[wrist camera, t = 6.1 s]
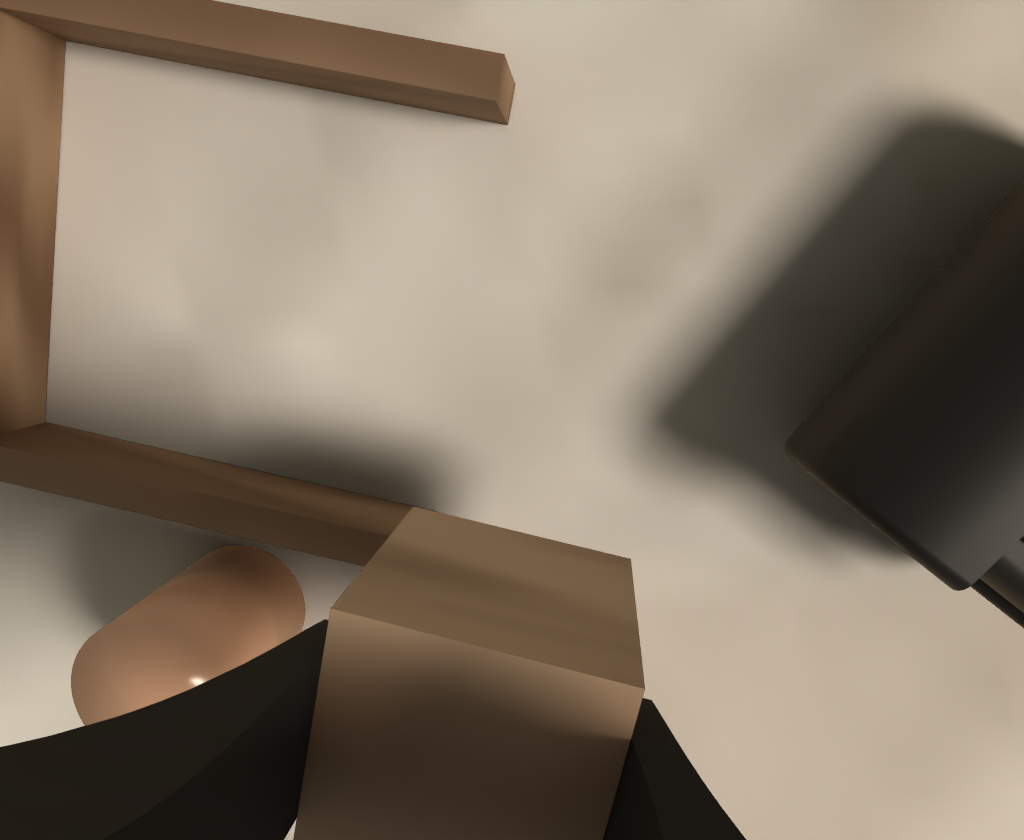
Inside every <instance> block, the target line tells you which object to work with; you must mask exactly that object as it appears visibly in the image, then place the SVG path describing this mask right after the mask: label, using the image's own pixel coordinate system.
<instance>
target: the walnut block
mask: <svg viewBox="0 0 1024 840" xmlns="http://www.w3.org/2000/svg"><path fill="white" fill-rule="evenodd" d="M644 691H645V684H644V675H643V666H642V657H641V648H640V639H639V630H638V621H637V612H636V603H635V594H634V585H633V575H632V566H631V559H629V558H624V557H620V556H616V555H612V554H608V553H604V552H600V551H596V550H591V549H587V548H583V547H579V546H575V545H571V544H567V543H562V542H558V541H554V540H550V539H546V538H542V537H538V536H534V535H529V534H525V533H521V532H517V531H513V530H509V529H505V528H500V527H496V526H492V525H488V524H484V523H480V522H476V521H472V520H467V519H463V518H459V517H455V516H451V515H447V514H443V513H439V512H434V511H430V510H426V509H422V508H418V507H413V508H412V509H411V510H410V512H409V513H408V514H407V515H406V516H405V518H404V519H403V520H402V521H401V523H400V524H399V525H398V526H397V527H396V529H395V530H394V531H393V532H392V534H391V535H390V536H389V537H388V539H387V540H386V541H385V542H384V543H383V545H382V546H381V547H380V548H379V550H378V551H377V552H376V553H375V555H374V556H373V557H372V558H371V559H370V561H369V562H368V563H367V564H366V566H365V567H364V568H363V569H362V570H361V572H360V573H359V574H358V575H357V577H356V578H355V579H354V580H353V582H352V583H351V584H350V585H349V586H348V588H347V589H346V590H345V591H344V593H343V594H342V595H341V596H340V597H339V599H338V600H337V601H336V602H335V604H334V605H333V606H332V607H331V609H330V615H329V621H328V627H327V634H326V640H325V646H324V652H323V659H322V665H321V671H320V677H319V683H318V690H317V696H316V702H315V708H314V715H313V721H312V727H311V733H310V739H309V746H308V752H307V758H306V764H305V771H304V777H303V783H302V789H301V795H300V802H299V808H298V814H297V820H296V827H295V833H294V839H293V840H603V837H604V834H605V830H606V826H607V823H608V819H609V816H610V812H611V809H612V805H613V801H614V798H615V794H616V791H617V787H618V784H619V780H620V776H621V773H622V769H623V766H624V762H625V759H626V755H627V752H628V748H629V744H630V741H631V737H632V734H633V730H634V727H635V723H636V719H637V716H638V712H639V709H640V705H641V702H642V698H643V694H644Z"/></svg>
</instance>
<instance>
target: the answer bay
mask: <svg viewBox="0 0 1024 840" xmlns="http://www.w3.org/2000/svg"><path fill="white" fill-rule="evenodd" d="M66 41H71V42H76V43H82V44H87V45H92V46H97V47H103V48H108V49H113V50H118V51H124V52H129V53H134V54H139V55H145V56H150V57H155V58H160V59H166V60H171V61H176V62H181V63H186V64H192V65H197V66H202V67H207V68H213V69H218V70H223V71H228V72H234V73H239V74H244V75H249V76H255V77H260V78H265V79H270V80H276V81H281V82H286V83H291V84H297V85H302V86H307V87H312V88H318V89H323V90H328V91H333V92H339V93H344V94H349V95H354V96H359V97H365V98H370V99H375V100H380V101H386V102H391V103H396V104H401V105H407V106H412V107H417V108H422V109H428V110H433V111H438V112H443V113H449V114H454V115H459V116H464V117H470V118H475V119H480V120H485V121H491V122H496V123H501V124H506V125H508V122H509V116H510V111H511V106H512V100H513V95H514V89H515V82H514V80H513V77H512V74H511V71H510V69H509V66H508V63H507V60H506V58H505V55H504V54H500V53H495V52H490V51H484V50H479V49H473V48H468V47H462V46H457V45H452V44H446V43H441V42H435V41H430V40H424V39H419V38H414V37H408V36H403V35H397V34H392V33H386V32H381V31H376V30H370V29H365V28H359V27H354V26H349V25H343V24H338V23H332V22H327V21H321V20H316V19H311V18H305V17H300V16H294V15H289V14H283V13H278V12H273V11H267V10H262V9H256V8H251V7H245V6H240V5H235V4H229V3H224V2H218V1H213V0H0V481H3V482H7V483H12V484H16V485H20V486H24V487H29V488H33V489H37V490H41V491H46V492H50V493H54V494H58V495H63V496H67V497H71V498H75V499H80V500H84V501H88V502H92V503H97V504H101V505H105V506H109V507H114V508H118V509H122V510H127V511H131V512H135V513H139V514H144V515H148V516H152V517H156V518H161V519H165V520H169V521H173V522H178V523H182V524H186V525H190V526H195V527H199V528H203V529H207V530H212V531H216V532H220V533H224V534H229V535H233V536H237V537H241V538H246V539H250V540H254V541H258V542H263V543H267V544H271V545H276V546H280V547H284V548H288V549H293V550H297V551H301V552H305V553H310V554H314V555H318V556H322V557H327V558H331V559H335V560H339V561H344V562H348V563H352V564H356V565H361V566H366V564H367V563H368V562H369V561H370V559H371V558H372V557H373V556H374V555H375V553H376V552H377V551H378V550H379V548H380V547H381V546H382V545H383V543H384V542H385V541H386V540H387V539H388V537H389V536H390V535H391V534H392V532H393V531H394V530H395V529H396V527H397V526H398V525H399V524H400V523H401V521H402V520H403V519H404V518H405V516H406V515H407V514H408V513H409V512H410V510H411V509H412V508H413V507H414V506H409V505H405V504H400V503H396V502H392V501H387V500H383V499H379V498H374V497H370V496H365V495H361V494H357V493H352V492H348V491H343V490H339V489H335V488H330V487H326V486H322V485H317V484H313V483H308V482H304V481H300V480H295V479H291V478H286V477H282V476H278V475H273V474H269V473H265V472H260V471H256V470H251V469H247V468H243V467H238V466H234V465H230V464H225V463H221V462H216V461H212V460H208V459H203V458H199V457H194V456H190V455H186V454H181V453H177V452H173V451H168V450H164V449H159V448H155V447H151V446H146V445H142V444H137V443H133V442H129V441H124V440H120V439H116V438H111V437H107V436H102V435H98V434H94V433H89V432H85V431H81V430H76V429H72V428H67V427H63V426H59V425H54V424H50V423H45V412H46V394H47V375H48V357H49V339H50V320H51V302H52V284H53V266H54V247H55V229H56V211H57V192H58V174H59V156H60V138H61V119H62V101H63V83H64V64H65V46H66ZM426 510H427V509H426ZM430 511H431V510H430ZM434 512H435V511H434Z"/></svg>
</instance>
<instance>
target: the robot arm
mask: <svg viewBox="0 0 1024 840" xmlns="http://www.w3.org/2000/svg"><path fill="white" fill-rule="evenodd" d="M328 621H329V620H326V619H325V620H323V621H321V622H319V623H317V624H315V625H313V626H312V627H310V628H308V629H306V630H304V631H303V632H301V633H299V634H297V635H296V636H294V637H292V638H290V639H289V640H287V641H285V642H283V643H281V644H280V645H278V646H276V647H274V648H272V649H270V650H268V651H267V652H265V653H263V654H261V655H259V656H257V657H255V658H253V659H252V660H250V661H248V662H246V663H244V664H242V665H240V666H238V667H236V668H234V669H232V670H230V671H227V672H225V673H223V674H221V675H219V676H217V677H215V678H213V679H210V680H208V681H206V682H204V683H202V684H200V685H198V686H196V687H193V688H191V689H189V690H187V691H184V692H182V693H180V694H177V695H175V696H172V697H170V698H167V699H165V700H162V701H160V702H157V703H154V704H151V705H149V706H146V707H143V708H140V709H137V710H135V711H132V712H129V713H126V714H123V715H120V716H117V717H114V718H110V719H107V720H104V721H100V722H97V723H93V724H90V725H86V726H83V727H79V728H76V729H72V730H69V731H65V732H62V733H59V734H55V735H51V736H47V737H43V738H39V739H35V740H30V741H26V742H22V743H17V744H13V745H8V746H3V747H0V840H284V838H285V837H286V835H287V833H288V832H289V830H290V828H291V827H292V825H293V823H294V822H295V820H296V818H297V814H298V808H299V802H300V795H301V789H302V783H303V777H304V771H305V764H306V758H307V752H308V746H309V739H310V733H311V727H312V721H313V715H314V708H315V702H316V696H317V690H318V683H319V677H320V671H321V665H322V659H323V652H324V646H325V640H326V634H327V627H328ZM603 840H746V839H745V837H744V836H743V835H742V834H741V832H740V831H739V830H738V828H737V827H736V826H735V824H734V823H733V822H732V820H731V819H730V818H729V817H728V815H727V814H726V813H725V811H724V810H723V809H722V807H721V806H720V805H719V803H718V802H717V800H716V799H715V798H714V796H713V795H712V793H711V792H710V791H709V789H708V788H707V786H706V785H705V783H704V782H703V781H702V779H701V778H700V776H699V775H698V773H697V772H696V770H695V769H694V767H693V766H692V764H691V763H690V761H689V759H688V758H687V756H686V755H685V753H684V752H683V750H682V749H681V747H680V745H679V744H678V742H677V741H676V739H675V737H674V736H673V734H672V732H671V731H670V729H669V727H668V726H667V724H666V723H665V721H664V719H663V718H662V716H661V714H660V713H659V711H658V710H657V708H656V706H655V705H654V703H653V702H652V700H649V699H645V698H642V702H641V705H640V709H639V712H638V716H637V719H636V723H635V727H634V730H633V734H632V737H631V741H630V744H629V748H628V752H627V755H626V759H625V762H624V766H623V769H622V773H621V776H620V780H619V784H618V787H617V791H616V794H615V798H614V801H613V805H612V809H611V812H610V816H609V819H608V823H607V826H606V830H605V834H604V837H603Z"/></svg>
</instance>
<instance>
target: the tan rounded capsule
mask: <svg viewBox="0 0 1024 840" xmlns="http://www.w3.org/2000/svg"><path fill="white" fill-rule="evenodd" d="M304 620H305V603H304V598H303V594H302V591H301V588H300V586H299V584H298V582H297V580H296V579H295V577H294V576H293V574H292V573H291V572H290V570H289V569H288V568H287V567H286V566H285V565H284V564H283V563H282V562H281V561H279V560H278V559H277V558H275V557H274V556H272V555H271V554H269V553H267V552H265V551H263V550H260V549H257V548H254V547H250V546H244V545H231V546H225V547H220V548H218V549H215V550H213V551H211V552H209V553H207V554H206V555H204V556H203V557H202V558H200V559H199V560H197V561H196V562H195V563H193V564H192V565H190V566H189V567H188V568H186V569H185V570H183V571H182V572H181V573H179V574H178V575H176V576H175V577H173V578H172V579H171V580H169V581H168V582H166V583H165V584H164V585H162V586H161V587H159V588H158V589H157V590H155V591H154V592H152V593H151V594H150V595H148V596H147V597H145V598H144V599H143V600H141V601H140V602H138V603H137V604H136V605H134V606H133V607H131V608H130V609H128V610H127V611H126V612H124V613H123V614H121V615H120V616H119V617H117V618H116V619H114V620H113V621H112V622H110V623H109V624H107V625H106V626H105V627H103V628H102V629H100V630H99V631H98V632H96V633H95V634H94V635H92V636H91V637H90V638H89V639H88V640H87V641H86V642H85V643H84V644H83V646H82V647H81V649H80V650H79V652H78V654H77V656H76V658H75V661H74V664H73V668H72V675H71V689H72V696H73V700H74V704H75V707H76V709H77V712H78V714H79V716H80V718H81V720H82V722H83V723H84V725H85V726H86V725H90V724H93V723H97V722H100V721H104V720H107V719H110V718H114V717H117V716H120V715H123V714H126V713H129V712H132V711H135V710H137V709H140V708H143V707H146V706H149V705H151V704H154V703H157V702H160V701H162V700H165V699H167V698H170V697H172V696H175V695H177V694H180V693H182V692H184V691H187V690H189V689H191V688H193V687H196V686H198V685H200V684H202V683H204V682H206V681H208V680H210V679H213V678H215V677H217V676H219V675H221V674H223V673H225V672H227V671H230V670H232V669H234V668H236V667H238V666H240V665H242V664H244V663H246V662H248V661H250V660H252V659H253V658H255V657H257V656H259V655H261V654H263V653H265V652H267V651H268V650H270V649H272V648H274V647H276V646H278V645H280V644H281V643H283V642H285V641H287V640H289V639H290V638H292V637H294V636H296V635H297V634H299V633H301V631H302V628H303V625H304Z"/></svg>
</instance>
